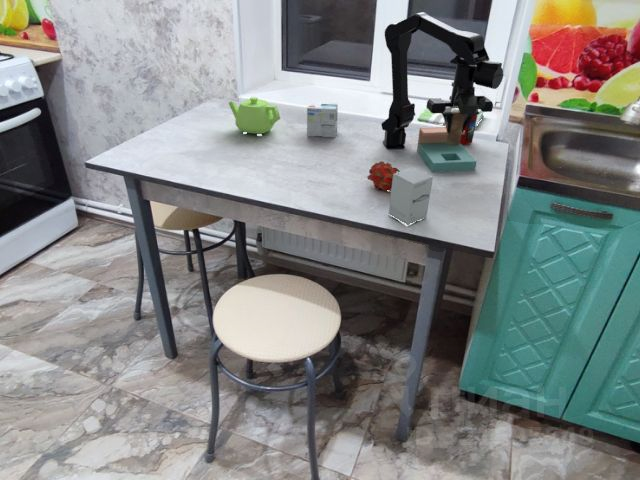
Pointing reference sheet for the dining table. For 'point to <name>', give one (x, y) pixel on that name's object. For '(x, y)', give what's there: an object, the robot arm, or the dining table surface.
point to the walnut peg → (455, 128)
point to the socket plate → (443, 151)
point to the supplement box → (410, 195)
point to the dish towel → (441, 117)
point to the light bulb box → (322, 119)
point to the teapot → (255, 115)
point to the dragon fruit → (382, 175)
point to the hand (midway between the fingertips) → (454, 132)
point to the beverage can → (469, 132)
